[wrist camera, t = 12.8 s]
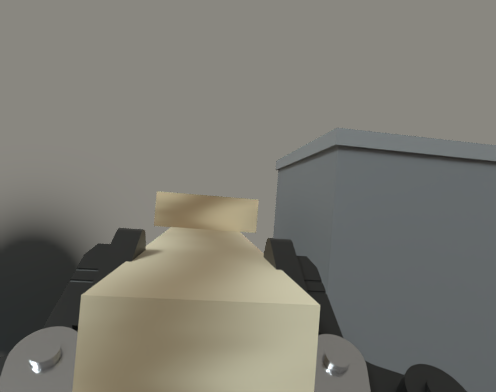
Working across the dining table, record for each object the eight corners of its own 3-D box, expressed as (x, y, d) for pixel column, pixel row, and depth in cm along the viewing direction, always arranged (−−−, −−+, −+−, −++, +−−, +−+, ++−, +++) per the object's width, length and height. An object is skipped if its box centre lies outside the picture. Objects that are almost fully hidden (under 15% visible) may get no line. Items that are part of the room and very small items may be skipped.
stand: (286, 826, 15) (337, 127, 16) (248, 530, 28) (276, 160, 29) (526, 785, 16) (563, 152, 17) (383, 524, 30) (407, 173, 30)
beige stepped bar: (-5, 486, 5) (26, 165, 5) (166, 255, 27) (171, 194, 27) (361, 478, 6) (381, 196, 6) (238, 259, 28) (243, 200, 28)
